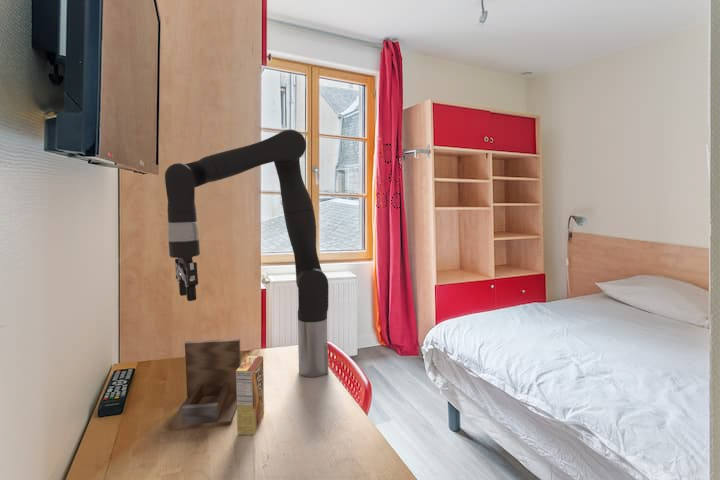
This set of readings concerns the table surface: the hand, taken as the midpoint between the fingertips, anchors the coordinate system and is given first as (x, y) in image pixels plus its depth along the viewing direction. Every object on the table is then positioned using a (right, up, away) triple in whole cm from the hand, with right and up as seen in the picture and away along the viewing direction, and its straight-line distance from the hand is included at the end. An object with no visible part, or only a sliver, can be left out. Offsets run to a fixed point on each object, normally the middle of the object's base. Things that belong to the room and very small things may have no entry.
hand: (187, 297), depth 103 cm
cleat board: (+8, -28, -7) cm, 30 cm away
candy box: (+21, -29, -13) cm, 38 cm away
